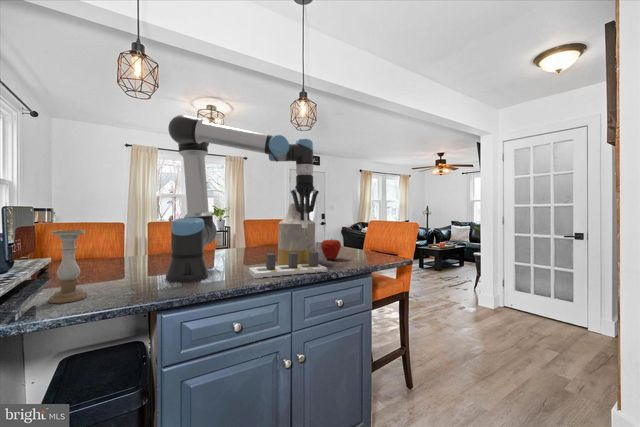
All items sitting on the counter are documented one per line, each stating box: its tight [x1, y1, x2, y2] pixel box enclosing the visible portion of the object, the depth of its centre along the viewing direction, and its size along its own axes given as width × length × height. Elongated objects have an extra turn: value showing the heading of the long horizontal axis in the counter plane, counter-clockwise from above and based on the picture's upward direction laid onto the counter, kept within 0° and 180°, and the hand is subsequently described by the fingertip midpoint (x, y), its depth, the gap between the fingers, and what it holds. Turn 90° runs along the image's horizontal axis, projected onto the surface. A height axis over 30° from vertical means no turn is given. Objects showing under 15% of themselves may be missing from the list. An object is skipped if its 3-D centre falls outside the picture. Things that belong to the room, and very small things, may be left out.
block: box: [265, 252, 276, 269], centre depth 126 cm, size 3×4×6 cm
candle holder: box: [48, 229, 88, 304], centre depth 88 cm, size 9×9×20 cm
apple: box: [320, 238, 342, 260], centre depth 163 cm, size 11×11×12 cm
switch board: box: [248, 263, 328, 279], centre depth 130 cm, size 32×12×2 cm, turn 115°
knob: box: [309, 250, 319, 266], centre depth 135 cm, size 3×4×6 cm
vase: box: [277, 202, 316, 266], centre depth 149 cm, size 18×18×30 cm
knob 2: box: [288, 252, 298, 268], centre depth 130 cm, size 3×4×6 cm
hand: (304, 227), depth 132 cm, fingers closed
